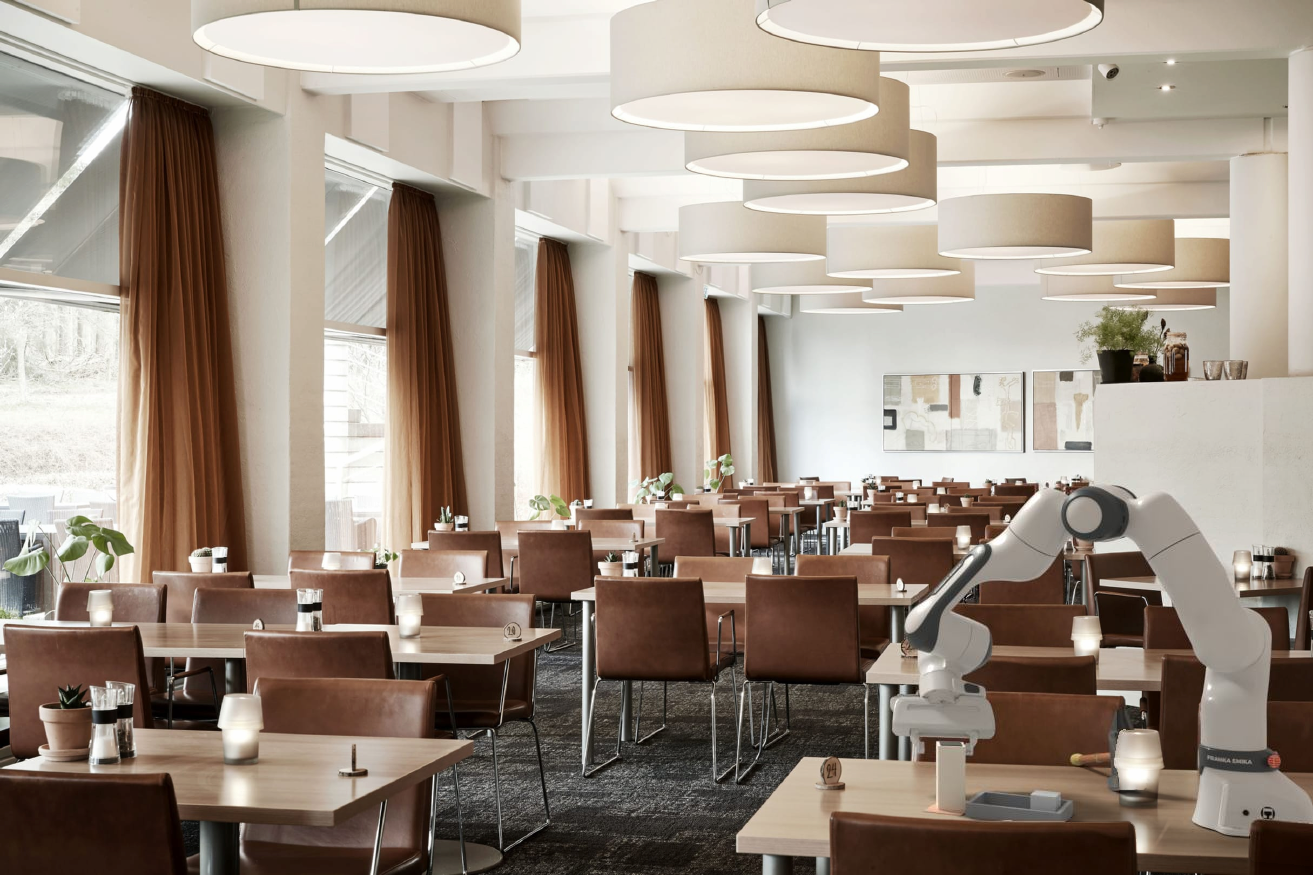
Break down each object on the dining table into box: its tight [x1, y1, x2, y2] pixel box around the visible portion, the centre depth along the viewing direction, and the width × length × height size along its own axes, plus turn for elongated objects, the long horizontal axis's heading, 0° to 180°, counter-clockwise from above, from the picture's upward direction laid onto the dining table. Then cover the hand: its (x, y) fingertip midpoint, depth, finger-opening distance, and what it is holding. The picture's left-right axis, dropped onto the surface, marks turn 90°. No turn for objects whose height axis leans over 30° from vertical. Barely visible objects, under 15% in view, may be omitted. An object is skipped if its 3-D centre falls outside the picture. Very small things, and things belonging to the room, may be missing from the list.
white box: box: [935, 740, 966, 811], centre depth 264 cm, size 5×5×12 cm
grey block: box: [1029, 789, 1062, 812], centre depth 256 cm, size 4×4×4 cm
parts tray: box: [965, 790, 1074, 821], centre depth 258 cm, size 17×12×3 cm
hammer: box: [1070, 709, 1135, 792], centre depth 295 cm, size 6×16×30 cm
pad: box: [923, 801, 966, 817], centre depth 264 cm, size 7×11×1 cm, turn 153°
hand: (944, 752), depth 276 cm, fingers open, 8 cm apart
